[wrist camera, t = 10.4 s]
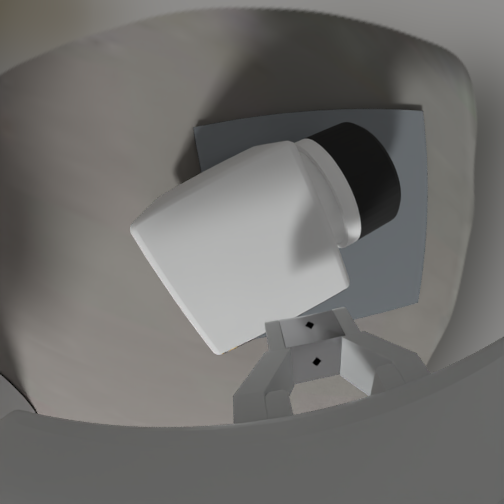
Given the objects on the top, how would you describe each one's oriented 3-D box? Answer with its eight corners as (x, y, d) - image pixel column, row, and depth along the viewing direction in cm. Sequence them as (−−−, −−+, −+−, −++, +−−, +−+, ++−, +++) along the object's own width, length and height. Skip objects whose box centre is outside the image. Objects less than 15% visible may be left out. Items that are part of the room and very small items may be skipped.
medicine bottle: (216, 360, 12) (428, 239, 12) (124, 227, 10) (389, 100, 10) (209, 291, 19) (361, 210, 19) (153, 199, 16) (324, 115, 17)
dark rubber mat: (237, 337, 22) (237, 341, 22) (194, 127, 16) (193, 127, 16) (415, 299, 22) (417, 302, 22) (418, 111, 16) (422, 111, 16)
